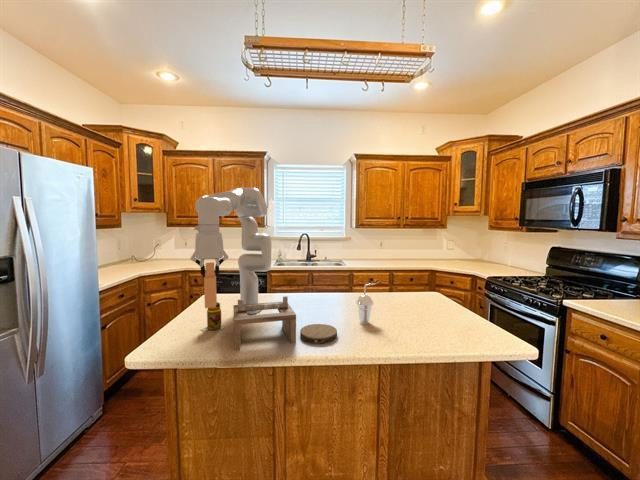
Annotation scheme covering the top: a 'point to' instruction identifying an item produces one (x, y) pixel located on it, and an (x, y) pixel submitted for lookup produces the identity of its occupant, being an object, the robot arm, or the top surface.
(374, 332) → the top surface
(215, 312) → the condiment
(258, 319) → the shelf
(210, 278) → the l-shaped step block
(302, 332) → the brown round disc
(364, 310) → the cup with straw
